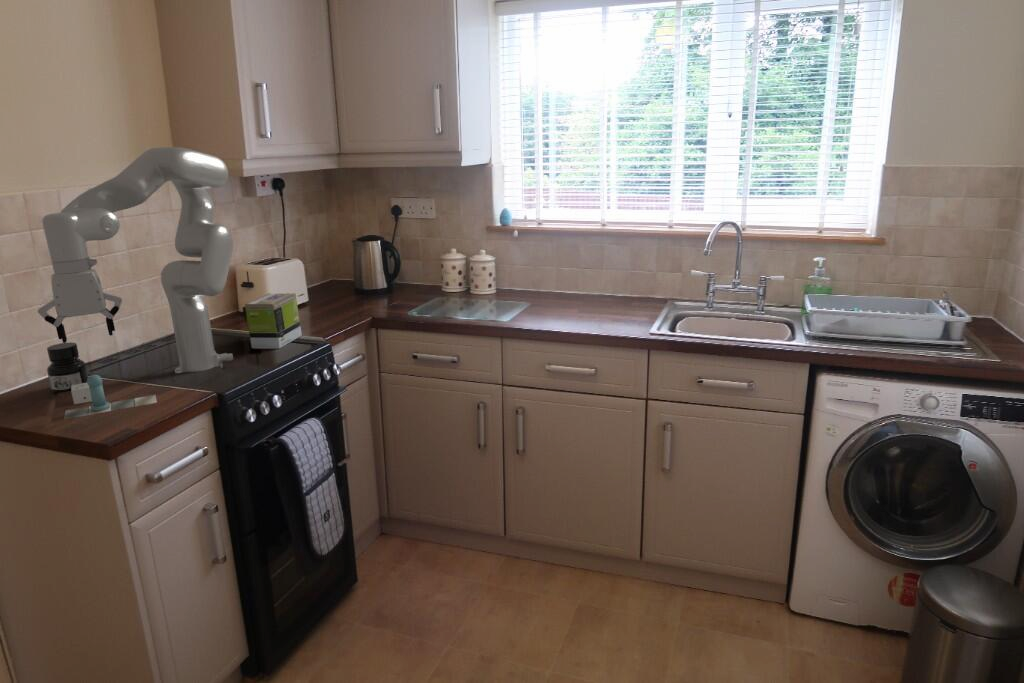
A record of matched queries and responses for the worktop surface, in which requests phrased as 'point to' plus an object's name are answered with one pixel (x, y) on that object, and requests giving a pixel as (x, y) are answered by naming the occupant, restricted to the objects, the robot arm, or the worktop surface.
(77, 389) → the die
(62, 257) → the robot arm
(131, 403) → the board
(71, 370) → the ink bottle
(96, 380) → the pawn
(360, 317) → the worktop surface
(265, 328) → the tea box
